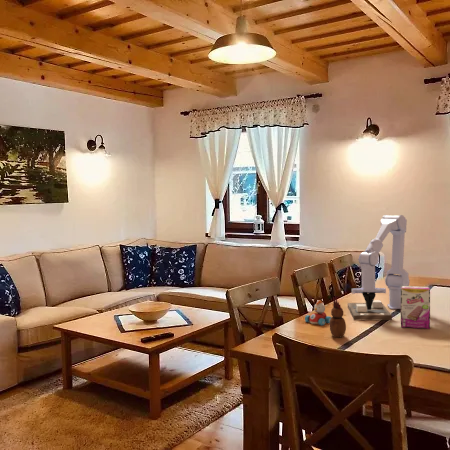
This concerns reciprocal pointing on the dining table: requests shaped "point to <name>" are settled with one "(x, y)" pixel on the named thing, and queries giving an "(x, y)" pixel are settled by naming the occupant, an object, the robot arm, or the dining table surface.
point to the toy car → (318, 315)
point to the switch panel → (369, 313)
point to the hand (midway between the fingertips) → (369, 309)
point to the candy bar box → (415, 307)
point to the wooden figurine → (337, 320)
